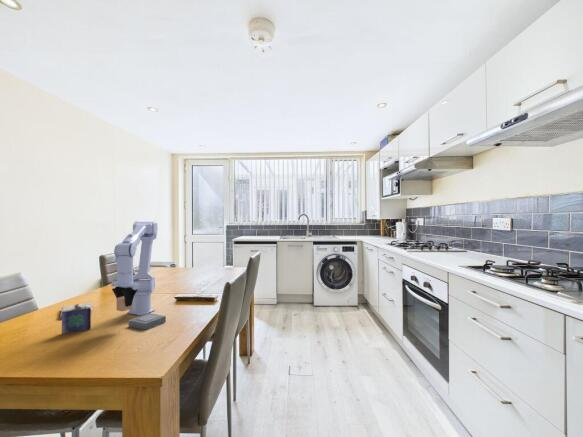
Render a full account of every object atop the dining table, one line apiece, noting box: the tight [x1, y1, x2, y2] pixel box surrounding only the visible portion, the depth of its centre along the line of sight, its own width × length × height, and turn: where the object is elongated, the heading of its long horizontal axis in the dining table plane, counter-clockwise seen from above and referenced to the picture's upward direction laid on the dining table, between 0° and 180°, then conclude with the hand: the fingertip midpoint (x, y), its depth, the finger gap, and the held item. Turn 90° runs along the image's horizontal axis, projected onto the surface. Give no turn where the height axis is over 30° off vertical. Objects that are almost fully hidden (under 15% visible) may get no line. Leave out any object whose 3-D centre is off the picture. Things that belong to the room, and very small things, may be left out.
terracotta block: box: [116, 296, 132, 312], centre depth 114 cm, size 4×4×5 cm
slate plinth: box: [128, 312, 167, 331], centre depth 118 cm, size 10×10×3 cm
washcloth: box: [59, 302, 93, 321], centre depth 134 cm, size 12×18×3 cm, turn 39°
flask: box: [61, 303, 92, 335], centre depth 111 cm, size 9×3×11 cm, turn 121°
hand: (124, 305), depth 114 cm, fingers closed on terracotta block, 4 cm apart
